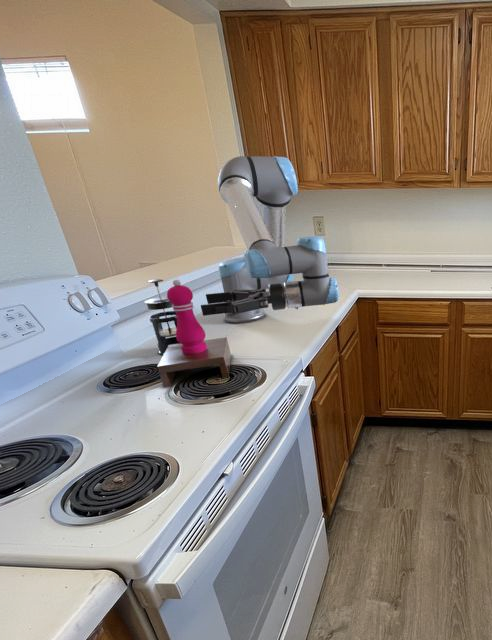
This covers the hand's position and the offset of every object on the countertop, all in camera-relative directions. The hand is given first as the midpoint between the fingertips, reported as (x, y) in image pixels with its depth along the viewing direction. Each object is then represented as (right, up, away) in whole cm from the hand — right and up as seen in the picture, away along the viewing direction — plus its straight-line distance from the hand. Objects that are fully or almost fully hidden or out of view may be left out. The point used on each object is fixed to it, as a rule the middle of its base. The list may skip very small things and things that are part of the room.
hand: (204, 304), depth 114 cm
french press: (-21, -12, +22) cm, 32 cm away
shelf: (-4, -18, +6) cm, 19 cm away
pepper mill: (-4, -13, +4) cm, 14 cm away
